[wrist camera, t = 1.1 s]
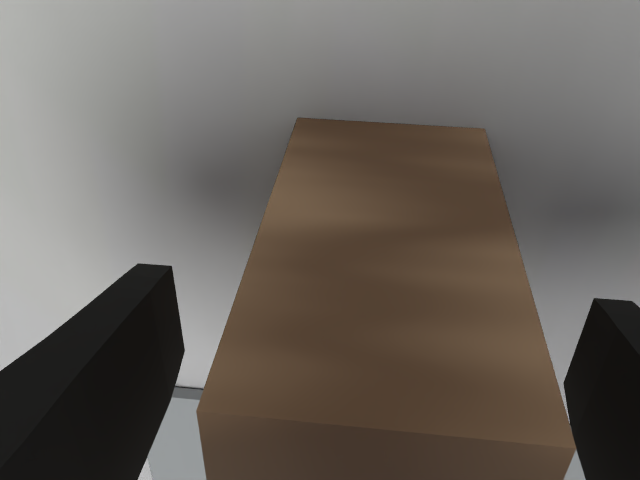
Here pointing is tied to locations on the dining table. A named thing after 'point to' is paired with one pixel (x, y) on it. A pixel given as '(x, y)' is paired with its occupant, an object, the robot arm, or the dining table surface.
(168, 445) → the bead board
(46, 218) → the dining table surface
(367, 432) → the wooden peg
